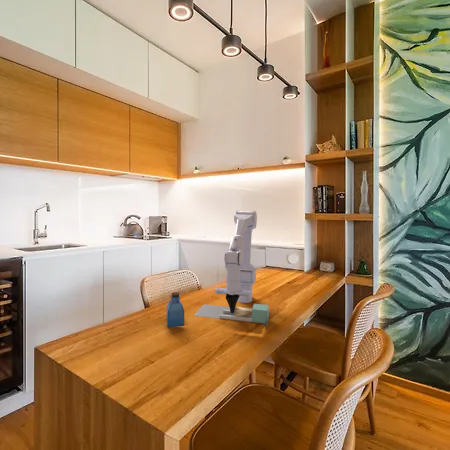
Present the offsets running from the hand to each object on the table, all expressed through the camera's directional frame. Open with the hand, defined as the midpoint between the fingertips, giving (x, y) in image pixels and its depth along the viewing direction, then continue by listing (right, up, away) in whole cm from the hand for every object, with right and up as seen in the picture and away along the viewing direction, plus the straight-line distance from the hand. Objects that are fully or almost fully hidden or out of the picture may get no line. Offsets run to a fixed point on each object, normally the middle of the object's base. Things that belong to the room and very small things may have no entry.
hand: (232, 312), depth 118 cm
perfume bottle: (-23, -3, -5) cm, 23 cm away
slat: (+7, -2, -2) cm, 7 cm away
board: (0, -3, +4) cm, 4 cm away
